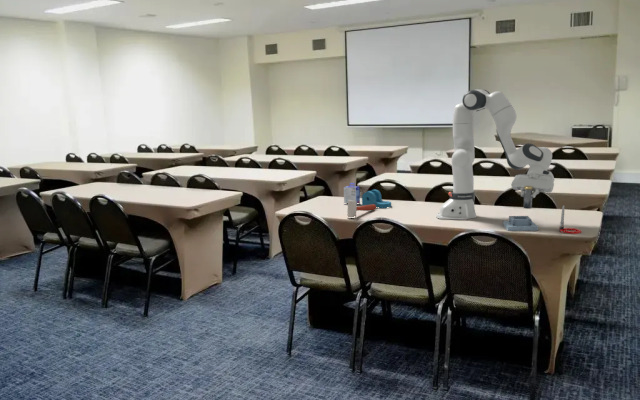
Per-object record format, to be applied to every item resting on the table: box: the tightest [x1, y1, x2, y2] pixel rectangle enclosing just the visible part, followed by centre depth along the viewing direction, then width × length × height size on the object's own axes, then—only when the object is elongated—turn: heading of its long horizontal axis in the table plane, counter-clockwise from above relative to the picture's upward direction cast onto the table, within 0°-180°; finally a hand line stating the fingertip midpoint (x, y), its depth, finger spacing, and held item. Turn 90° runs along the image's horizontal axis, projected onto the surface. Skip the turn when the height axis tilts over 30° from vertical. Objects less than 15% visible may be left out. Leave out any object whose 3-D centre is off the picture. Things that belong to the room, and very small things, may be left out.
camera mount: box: [361, 189, 392, 209], centre depth 337 cm, size 18×10×10 cm, turn 57°
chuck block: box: [502, 215, 539, 232], centre depth 261 cm, size 14×14×5 cm
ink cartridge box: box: [343, 182, 361, 204], centre depth 349 cm, size 10×6×14 cm, turn 57°
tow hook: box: [558, 205, 582, 235], centre depth 247 cm, size 8×13×9 cm
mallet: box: [347, 201, 377, 217], centre depth 315 cm, size 11×4×30 cm
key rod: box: [523, 186, 533, 210], centre depth 260 cm, size 4×4×11 cm
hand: (527, 196), depth 259 cm, fingers closed on key rod, 4 cm apart
